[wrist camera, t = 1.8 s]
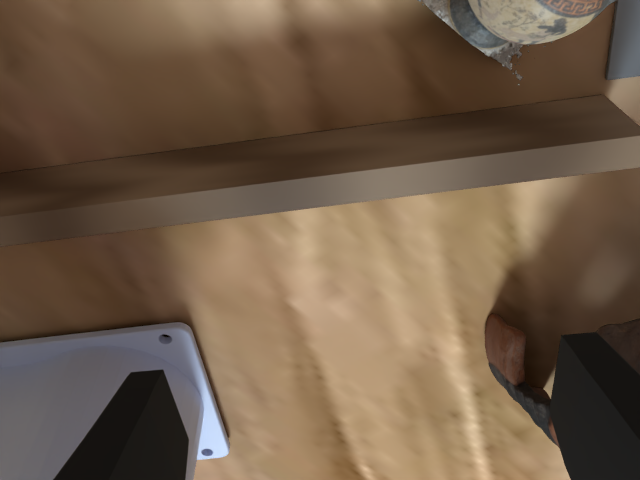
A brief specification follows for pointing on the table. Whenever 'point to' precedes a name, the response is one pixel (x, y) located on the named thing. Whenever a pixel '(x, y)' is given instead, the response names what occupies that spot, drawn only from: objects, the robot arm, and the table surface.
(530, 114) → the walnut tray
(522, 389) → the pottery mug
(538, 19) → the vase
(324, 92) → the table surface
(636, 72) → the slate coaster
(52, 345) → the robot arm
